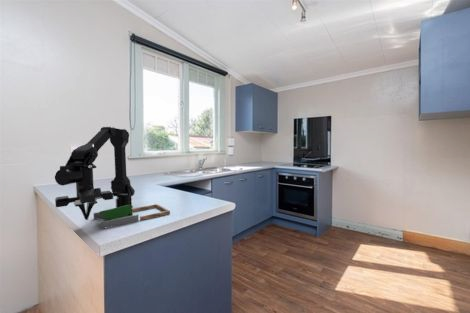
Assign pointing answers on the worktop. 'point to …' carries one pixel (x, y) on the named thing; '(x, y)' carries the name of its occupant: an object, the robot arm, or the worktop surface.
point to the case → (115, 220)
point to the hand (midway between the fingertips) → (86, 219)
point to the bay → (165, 212)
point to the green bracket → (117, 213)
